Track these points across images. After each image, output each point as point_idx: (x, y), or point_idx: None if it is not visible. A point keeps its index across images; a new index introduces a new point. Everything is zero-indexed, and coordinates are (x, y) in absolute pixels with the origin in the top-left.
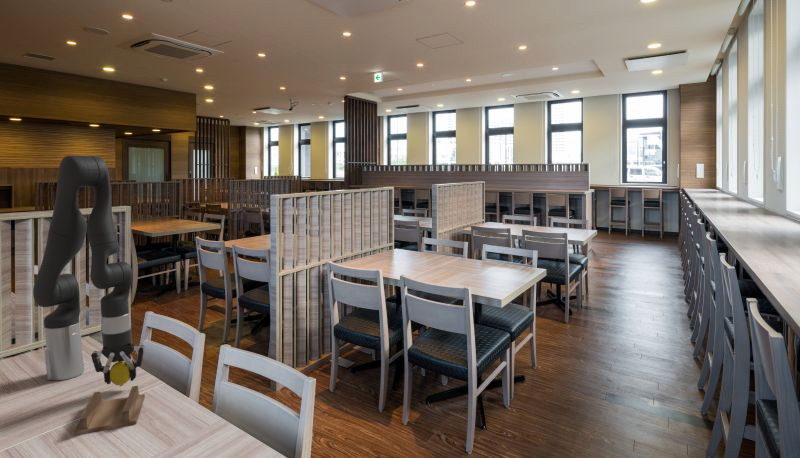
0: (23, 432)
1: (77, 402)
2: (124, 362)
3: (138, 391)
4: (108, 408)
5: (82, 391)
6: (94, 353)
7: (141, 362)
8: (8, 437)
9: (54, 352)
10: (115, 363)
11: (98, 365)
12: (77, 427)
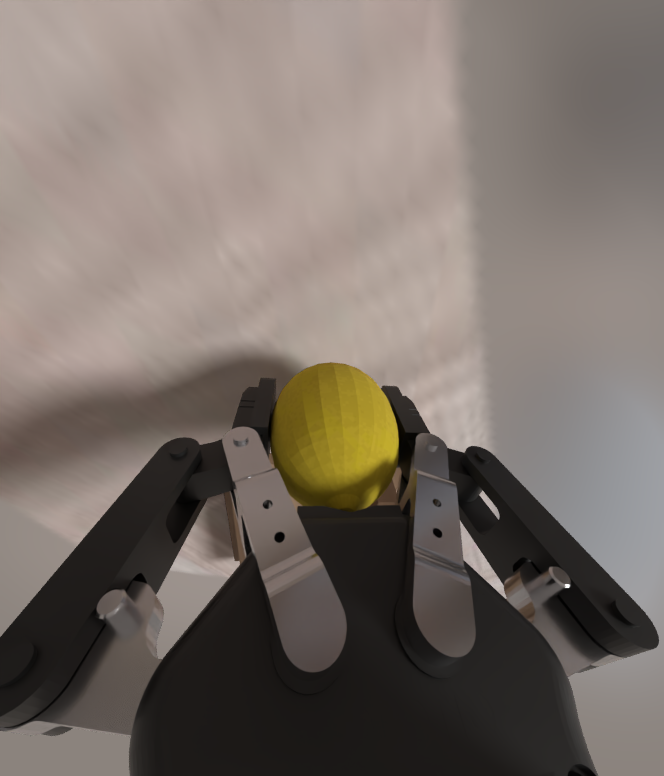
0: (80, 518)
1: (154, 407)
2: (378, 491)
3: (392, 481)
4: (297, 506)
5: (108, 290)
6: (64, 726)
7: (480, 507)
8: (51, 526)
9: None
10: (311, 496)
11: (182, 538)
12: (237, 552)
